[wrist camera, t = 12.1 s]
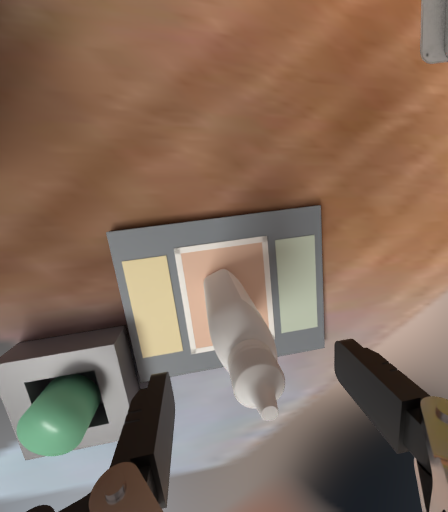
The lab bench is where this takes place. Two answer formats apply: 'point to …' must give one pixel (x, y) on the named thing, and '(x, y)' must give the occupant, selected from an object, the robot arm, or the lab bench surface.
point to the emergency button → (434, 31)
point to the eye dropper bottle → (243, 344)
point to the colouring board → (207, 262)
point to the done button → (59, 416)
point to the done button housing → (73, 362)
